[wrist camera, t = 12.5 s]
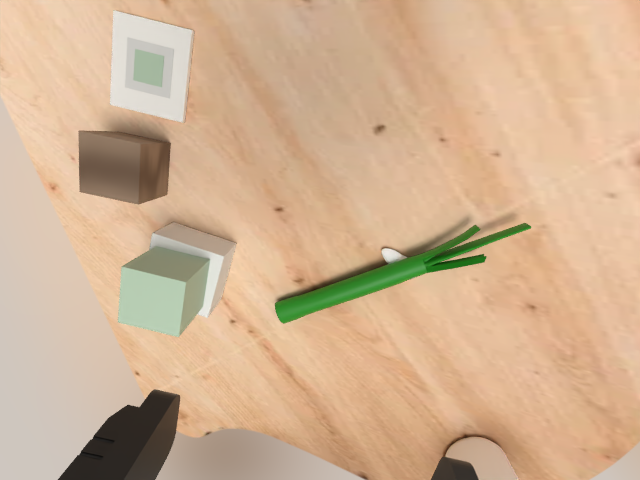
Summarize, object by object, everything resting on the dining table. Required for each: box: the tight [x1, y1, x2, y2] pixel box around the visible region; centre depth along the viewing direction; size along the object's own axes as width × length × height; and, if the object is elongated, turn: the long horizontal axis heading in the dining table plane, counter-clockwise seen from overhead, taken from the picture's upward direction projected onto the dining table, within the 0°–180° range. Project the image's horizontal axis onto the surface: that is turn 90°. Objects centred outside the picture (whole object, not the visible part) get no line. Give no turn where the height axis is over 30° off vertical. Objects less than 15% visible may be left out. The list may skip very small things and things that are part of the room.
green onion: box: [275, 223, 531, 323], centre depth 39 cm, size 5×3×30 cm
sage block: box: [118, 246, 210, 337], centre depth 34 cm, size 6×6×6 cm
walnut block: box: [79, 131, 171, 204], centre depth 35 cm, size 6×6×6 cm
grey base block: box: [149, 222, 237, 318], centre depth 39 cm, size 8×8×5 cm
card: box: [110, 10, 194, 123], centre depth 34 cm, size 9×8×1 cm
